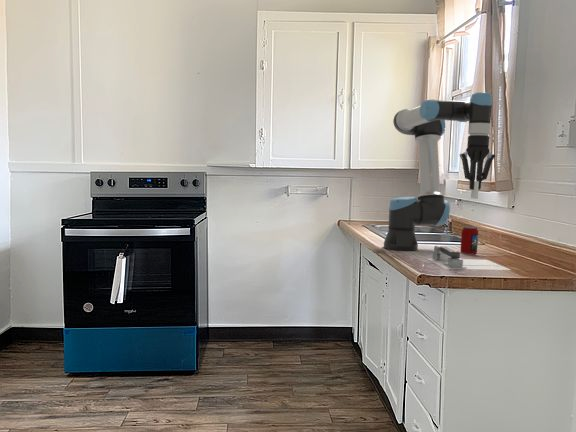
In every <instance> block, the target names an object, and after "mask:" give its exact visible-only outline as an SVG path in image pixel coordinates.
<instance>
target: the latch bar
mask: <svg viewBox="0 0 576 432" xmlns="http://www.w3.org/2000/svg"><path fill="white" fill-rule="evenodd" d="M440 247H441V250H440V252H442V253H444V254H446V255H448V256H449V257H450V258H461V252H460V251H459V250H454V249H451V248H449V247H447V246H440Z"/></svg>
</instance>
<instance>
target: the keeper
mask: <svg viewBox="0 0 576 432" xmlns="http://www.w3.org/2000/svg"><path fill="white" fill-rule="evenodd" d="M441 247H442V246H438V245H434V248H433V252H432V259H434V260H436V261H448V257H450V256H448V255H446V254H444V253H442V252H440V250H441Z"/></svg>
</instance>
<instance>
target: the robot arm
mask: <svg viewBox="0 0 576 432" xmlns="http://www.w3.org/2000/svg"><path fill="white" fill-rule="evenodd" d="M492 101H493V95H492V93H490V92H473V93H472V94H471V95H470V99H469V100H467V101H464V100H463V101H462V100H461V101H460V100H441V99H433V98H432V99H424V100H423V101H421V104H420V105H419V106H417V107H414V108H411V109H410V108H409V109H408V108H404V109H401V110H399V111H398V112H396V113H395V114H394V117H393V119H392V120H393V121H392V123H393V126H394V128H395V130H397V132H399V133H400V134H402V135H407V136H414V141H415V142H416V143H417V144H418V159H419V160H418V162H419V181H420V183H419V184H420V193H419V194H418V195H417V197H416V196H399V197H394V198H392V199H390V200H389V201H390V202H389V207H388V231H387V234H386V235H385V238H384V242H383V248H384V249H388V250H393V251H403V252H405V251H407V252H408V251H417V250H418V249H419V248H418V246H419V245H418V243H419V242H418V240H417V237H416V233H415V231H416V230H415V228H416V226H418V227H419V226H420V227H421V226H423V227H424V226H428V227H429V226H432V227H436V226H437V227H438V226H443V225H445V224H446V222H448V219H449V217H450V209H451V207H450V203H449V201H448V200H446V199H445V195H444V194H442V192H441V185H440V184H441V183H440V163H439V143H438V142H439V141H440V140H441V138H442V137H441V136H443V135H444V133H445V131H446V129H445V128H446V121H450V122H451V121H452V122H453V121H454V122H459V123H467V122H468V131H467V132H468V133H467V134H468V136H467V145H466V146H467V147H466V149H465V151H464V152H462V153H459V157H460V159H461V163H462V168H463V175H464V179H466V180H468V181H469V190H471V193H470V199H475V200H476V199H478V197H479V191H480V190H481V187H482V182H483V181H484V180H487V179H488V175H489V172H490V168H491V167H492V163H493V160H494V159H495V157H496V155H495V154H493V153H491V152H490V149H489V146H490V136H489V135H490V133H491V132H490V131H491V120H492V111H493V110H492V107H493V102H492ZM468 158H469V159H470V160H469V159H468ZM485 159H486V160H485ZM484 162H485V164H484ZM469 163H470V166H469Z"/></svg>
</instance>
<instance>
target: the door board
mask: <svg viewBox="0 0 576 432" xmlns="http://www.w3.org/2000/svg"><path fill="white" fill-rule="evenodd" d="M462 259H463V266H465V267H467V268H466V269H465V268H449V267H447V266H445V265H444V264H448V261H436V260H434V259H433V258H428V260H429V261H431V262H433V263H434V264H435V265H438V266H440V267H441V268H443V269H445V270H480V271H481V270H484V271H486V270H488V271H489V270H492V271H499V270H500V271H511V269H510V268H507V267H505V266H503V265H500V264H498V263H495V262H494V261H490V260H488V259H474V258H473V259H471V258H470V259H469V258H468V259H467V258H466V259H465V258H462Z"/></svg>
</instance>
